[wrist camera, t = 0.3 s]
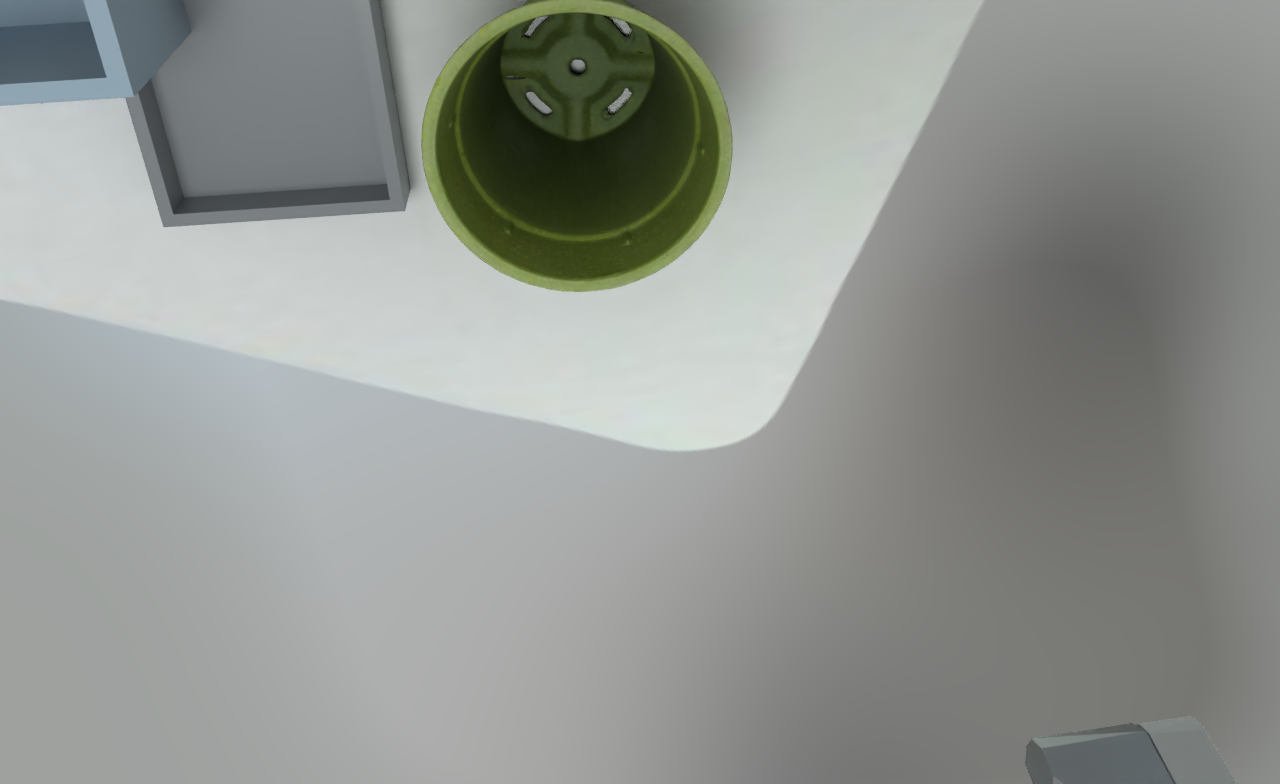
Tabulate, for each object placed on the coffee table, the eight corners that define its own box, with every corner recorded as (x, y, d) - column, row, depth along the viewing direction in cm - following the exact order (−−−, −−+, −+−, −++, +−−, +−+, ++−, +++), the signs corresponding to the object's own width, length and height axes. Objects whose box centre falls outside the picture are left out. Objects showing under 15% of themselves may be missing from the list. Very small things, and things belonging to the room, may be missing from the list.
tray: (109, -35, 51) (90, -20, 49) (370, -52, 51) (362, -37, 49) (178, 204, 57) (163, 227, 55) (410, 189, 57) (404, 210, 55)
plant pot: (478, -109, 50) (461, -45, 41) (738, -24, 53) (778, 54, 43) (419, 145, 56) (392, 252, 47) (655, 210, 59) (674, 323, 49)
